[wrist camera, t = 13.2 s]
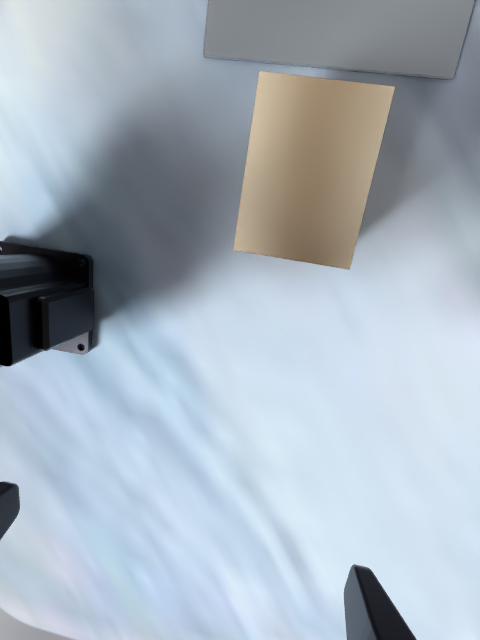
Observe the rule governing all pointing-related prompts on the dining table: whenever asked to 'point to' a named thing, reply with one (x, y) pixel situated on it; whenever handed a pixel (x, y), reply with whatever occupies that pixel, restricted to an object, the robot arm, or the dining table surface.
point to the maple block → (310, 167)
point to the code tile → (342, 34)
